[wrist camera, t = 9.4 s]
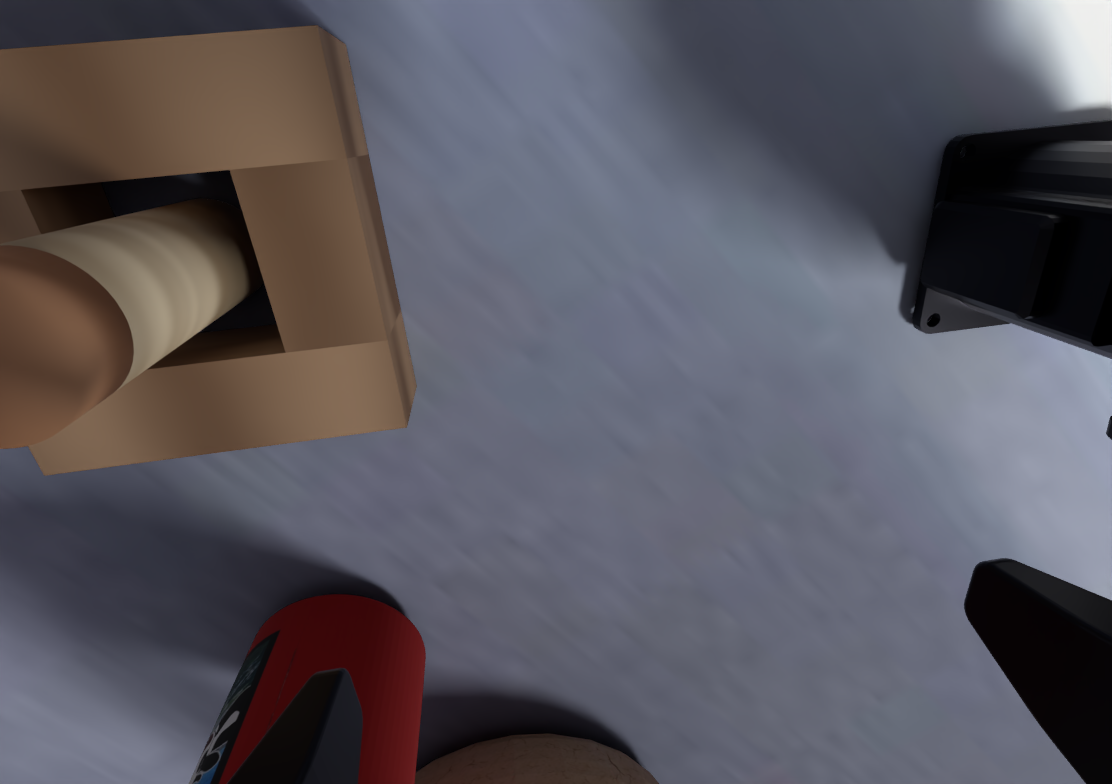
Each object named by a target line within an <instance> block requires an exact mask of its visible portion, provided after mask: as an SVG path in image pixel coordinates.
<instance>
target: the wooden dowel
mask: <svg viewBox="0 0 1112 784" xmlns="http://www.w3.org/2000/svg"><path fill="white" fill-rule="evenodd" d="M263 283H264V280H263V277H262V274H261V271H260V267H259V264H258V261H257V258H256V254H255V251H254V248H253V245H252V241H251V238H250V235H249V232H248V228H247V225H246V222H245V219H244V215H243V212H242V211H241V210H240V209H238V208H236V207H235V206H233V205H230V204H228V203H226V202H223V201H220V200H215V199H208V198H197V199H191V200H187V201H183V202H178V203H174V204H170V205H166V206H161V207H157V208H153V209H148V210H144V211H140V212H135V213H131V214H127V215H123V216H118V217H114V218H110V219H105V220H101V221H97V222H92V223H88V224H84V225H80V226H75V227H71V228H67V229H62V230H58V231H54V232H49V233H45V234H41V235H37V236H32V237H28V238H24V239H19V240H15V241H11V242H6V243H2V244H0V449H8V448H19V447H25V446H30V445H33V444H36V443H39V442H42V441H44V440H46V439H48V438H50V437H52V436H54V435H55V434H57V433H58V432H60V431H61V430H63V429H64V428H65V427H67V426H68V425H70V424H71V423H72V422H74V421H75V420H77V419H78V418H79V417H81V416H82V415H83V414H85V413H86V412H88V411H89V410H90V409H92V408H93V407H95V406H96V405H97V404H99V403H100V402H102V401H103V400H104V399H106V398H107V397H109V396H110V395H111V394H113V393H114V392H116V391H117V390H118V389H120V388H121V387H123V386H124V385H125V384H127V383H128V382H130V381H131V380H132V379H134V378H135V377H137V376H138V375H139V374H141V373H142V372H144V371H145V370H146V369H148V368H149V367H151V366H152V365H153V364H155V363H156V362H158V361H159V360H160V359H162V358H163V357H165V356H166V355H167V354H169V353H170V352H172V351H173V350H174V349H176V348H177V347H179V346H180V345H181V344H183V343H184V342H186V341H187V340H188V339H190V338H191V337H193V336H194V335H195V334H197V333H198V332H200V331H201V330H202V329H204V328H205V327H207V326H208V325H209V324H211V323H212V322H214V321H215V320H216V319H218V318H219V317H221V316H222V315H223V314H225V313H226V312H228V311H229V310H230V309H232V308H233V307H235V306H236V305H237V304H239V303H240V302H242V301H243V300H244V299H246V298H247V297H249V296H250V295H251V294H253V293H254V292H256V291H257V290H258V289H259V288H260V287H261V285H262V284H263Z"/></svg>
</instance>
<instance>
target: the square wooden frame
mask: <svg viewBox="0 0 1112 784" xmlns="http://www.w3.org/2000/svg"><path fill="white" fill-rule="evenodd" d="M222 170H230V173H231V176H232V179H233V183H234V186H235V189H236V192H237V196H238V199H239V202H240V205H241V209H242V212H243V215H244V219H245V222H246V225H247V228H248V232H249V235H250V238H251V241H252V245H253V248H254V251H255V254H256V258H257V261H258V264H259V267H260V271H261V274H262V277H263V280H264V284H265V287H266V290H267V293H268V297H269V300H270V303H271V307H272V310H273V313H274V316H275V320H276V323H277V324H273V325H264V326H256V327H247V328H239V329H230V330H222V331H213V332H205V333H197V334H195V335H194V336H193V337H191V338H190V339H188V340H187V341H186V342H184V343H183V344H181V345H180V346H179V347H177V348H176V349H174V350H173V351H172V352H170V353H169V354H167V355H166V356H165V357H163V358H162V359H160V360H159V361H158V362H156V363H155V364H153V365H152V366H151V367H149V368H148V369H146V370H145V371H144V372H142V373H141V374H139V375H138V376H137V377H135V378H134V379H132V380H131V381H130V382H128V383H127V384H125V385H124V386H123V387H121V388H120V389H118V390H117V391H116V392H114V393H113V394H111V395H110V396H109V397H107V398H106V399H104V400H103V401H102V402H100V403H99V404H97V405H96V406H95V407H93V408H92V409H90V410H89V411H88V412H86V413H85V414H83V415H82V416H81V417H79V418H78V419H77V420H75V421H74V422H72V423H71V424H70V425H68V426H67V427H65V428H64V429H63V430H61V431H60V432H58V433H57V434H55V435H54V436H52V437H50V438H48V439H46V440H44V441H42V442H39V443H36V444H33V445H30V446H28V447H29V449H30V451H31V453H32V454H33V456H34V458H35V460H36V462H37V463H38V465H39V467H40V469H41V471H42V472H43V474H44V476H46V475H53V474H61V473H68V472H76V471H83V470H91V469H98V468H106V467H113V466H121V465H128V464H136V463H143V462H151V461H158V460H166V459H173V458H181V457H188V456H196V455H203V454H211V453H218V452H226V451H233V450H241V449H248V448H256V447H263V446H271V445H278V444H286V443H293V442H301V441H308V440H316V439H323V438H331V437H338V436H346V435H353V434H361V433H368V432H376V431H383V430H391V429H398V428H406V427H407V425H408V421H409V416H410V412H411V408H412V404H413V399H414V395H415V391H416V387H417V385H416V381H415V376H414V371H413V366H412V361H411V356H410V352H409V347H408V342H407V337H406V332H405V328H404V323H403V318H402V313H401V308H400V303H399V299H398V294H397V289H396V284H395V279H394V275H393V270H392V265H391V260H390V255H389V250H388V246H387V241H386V236H385V231H384V226H383V222H382V217H381V212H380V207H379V202H378V197H377V193H376V188H375V183H374V178H373V173H372V169H371V164H370V159H369V154H368V149H367V145H366V140H365V135H364V130H363V125H362V120H361V116H360V111H359V106H358V101H357V96H356V92H355V87H354V82H353V77H352V72H351V67H350V63H349V58H348V53H347V48H346V44H344V43H343V42H341V41H340V40H338V39H337V38H335V37H334V36H332V35H331V34H329V33H328V32H326V31H325V30H323V29H322V28H321V27H319V26H318V25H313V26H300V27H287V28H274V29H261V30H248V31H235V32H222V33H209V34H196V35H183V36H170V37H157V38H144V39H131V40H118V41H105V42H92V43H79V44H66V45H53V46H40V47H27V48H14V49H1V50H0V244H2V243H6V242H11V241H15V240H19V239H24V238H28V237H32V236H37V235H41V234H45V233H49V232H54V231H58V230H62V229H67V228H71V227H75V226H80V225H84V224H88V223H92V222H97V221H101V220H105V219H110V218H114V215H113V212H112V210H111V207H110V205H109V202H108V200H107V197H106V195H105V192H104V190H103V187H102V185H101V182H107V181H117V180H128V179H138V178H149V177H159V176H170V175H180V174H191V173H201V172H212V171H222Z"/></svg>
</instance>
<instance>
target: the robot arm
mask: <svg viewBox="0 0 1112 784" xmlns="http://www.w3.org/2000/svg"><path fill="white" fill-rule="evenodd" d="M964 146H966V152H965V155H964V156H963V157H962V158H961V151H962V148H963V147H964ZM931 315H932V318H931V320H930V321H929V322H928V323H927V320H928V317H930V316H931ZM1010 323H1012V324H1015V325H1018V326H1020V327H1023V328H1026V329H1029V330H1032V331H1034V332H1037V333H1040V334H1043V335H1046V336H1049V337H1051V338H1054V339H1057V340H1060V341H1063V342H1065V343H1068V344H1071V345H1074V346H1077V347H1079V348H1082V349H1085V350H1088V351H1091V352H1094V353H1096V354H1099V355H1102V356H1105V357H1108V358H1110V359H1112V120H1104V121H1094V122H1084V123H1074V124H1064V125H1054V126H1044V127H1034V128H1024V129H1014V130H1004V131H994V132H984V133H974V134H964V135H959V136H956V137H955V138H953V139H952V140H951V141H950V142H949V144H948V145H947V146H946V149H945V151H944V155H943V160H942V166H941V171H940V176H939V181H938V187H937V192H936V197H935V203H934V208H933V213H932V218H931V224H930V229H929V234H928V240H927V245H926V250H925V255H924V261H923V266H922V271H921V277H920V282H919V287H918V293H917V298H916V303H915V308H914V314H913V325H914V327H915V328H916V329H918V330H920V331H922V332H924V333H928V334H932V333H940V332H948V331H956V330H963V329H971V328H979V327H986V326H994V325H1002V324H1010ZM1106 434H1107V436H1108V437H1109V438H1110V439H1112V416H1111V417H1110V420H1109V424H1108V428H1107V432H1106ZM964 609H965V613H966V616H967V618H968V620H969V622H970V623H971V625H972V626H973V628H974V629H975V631H976V632H977V634H978V635H979V637H980V638H981V640H982V641H983V643H984V644H985V646H986V647H987V648H988V650H989V651H990V653H991V654H992V656H993V657H994V659H995V660H996V662H997V663H998V665H999V666H1000V668H1001V669H1002V671H1003V672H1004V674H1005V675H1006V677H1007V678H1008V680H1009V681H1010V683H1011V684H1012V686H1013V687H1014V688H1015V690H1016V691H1017V693H1018V694H1019V696H1020V697H1021V699H1022V700H1023V702H1024V703H1025V705H1026V706H1027V708H1028V709H1029V711H1030V712H1031V713H1032V715H1033V716H1034V718H1035V719H1036V720H1037V722H1038V723H1039V725H1040V726H1041V727H1042V729H1043V730H1044V731H1045V732H1046V734H1047V735H1048V736H1049V738H1050V739H1051V740H1052V742H1053V743H1054V744H1055V745H1056V747H1057V748H1058V749H1059V750H1060V752H1061V753H1062V754H1063V755H1064V757H1065V758H1066V759H1067V760H1068V762H1069V763H1070V764H1071V765H1072V767H1073V768H1074V769H1075V770H1076V772H1077V773H1078V774H1079V775H1080V777H1081V778H1082V779H1083V780H1084V782H1085V783H1086V784H1112V600H1109V599H1107V598H1104V597H1102V596H1099V595H1097V594H1095V593H1092V592H1090V591H1087V590H1085V589H1083V588H1080V587H1078V586H1075V585H1073V584H1071V583H1068V582H1066V581H1063V580H1061V579H1059V578H1056V577H1054V576H1051V575H1049V574H1046V573H1044V572H1042V571H1039V570H1037V569H1034V568H1032V567H1030V566H1027V565H1025V564H1022V563H1020V562H1018V561H1015V560H1012V559H1008V558H1001V559H995V560H989V561H983V562H980V563H978V564H977V565H976V566H975V568H974V571H973V574H972V577H971V581H970V584H969V588H968V591H967V594H966V598H965V602H964ZM362 728H363V716H362V709H361V705H360V702H359V699H358V697H357V694H356V691H355V688H354V685H353V682H352V679H351V676H350V674H349V672H348V671H347V670H346V669H345V668H337V669H331V670H325V671H319V672H316V673H315V674H313V675H312V676H311V677H310V678H309V679H308V680H307V682H306V683H305V684H304V686H303V687H302V688H301V689H300V691H299V692H298V693H297V694H296V696H295V697H294V698H293V700H292V701H291V702H290V703H289V705H288V706H287V707H286V708H285V710H284V711H283V712H282V714H281V715H280V716H279V717H278V719H277V720H276V721H275V722H274V724H273V725H272V726H271V728H270V729H269V730H268V731H267V733H266V734H265V735H264V737H263V738H262V739H261V740H260V742H259V743H258V744H257V745H256V747H255V748H254V749H253V751H252V752H251V753H250V754H249V756H248V757H247V758H246V759H245V761H244V762H243V763H242V765H241V766H240V767H239V768H238V770H237V771H236V772H235V773H234V775H233V776H232V777H231V779H230V780H229V781H228V782H227V784H358V776H359V764H360V752H361V740H362Z"/></svg>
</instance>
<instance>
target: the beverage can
mask: <svg viewBox="0 0 1112 784" xmlns="http://www.w3.org/2000/svg"><path fill="white" fill-rule="evenodd" d="M425 659H426V653H425V647H424V643H423V640H422V637H421V635H420V633H419V631H418V630H417V628H416V627H415V626H414V625H413V623H412V622H411V621H410V620H409V619H408V618H407V617H405V616H404V615H403V614H402V613H400V612H399V611H397V610H396V609H394V608H392V607H391V606H389V605H387V604H385V603H382V602H380V601H377V600H374V599H371V598H367V597H362V596H356V595H348V594H330V595H321V596H315V597H311V598H307V599H303V600H300V601H298V602H295V603H293V604H290V605H288V606H286V607H284V608H283V609H281V610H279V611H278V612H277V613H275V614H274V615H273V616H271V617H270V618H269V619H268V620H267V621H266V622H265V623H264V624H263V626H262V627H261V628H260V630H259V631H258V633H257V635H256V637H255V639H254V641H253V643H252V645H251V647H250V650H249V652H248V654H247V656H246V658H245V660H244V663H243V665H242V667H241V669H240V671H239V673H238V676H237V678H236V680H235V682H234V684H233V686H232V689H231V691H230V693H229V695H228V697H227V700H226V702H225V704H224V706H223V708H222V711H221V713H220V715H219V717H218V720H217V722H216V724H215V726H214V728H213V731H212V733H211V735H210V737H209V740H208V742H207V744H206V746H205V749H204V751H203V753H202V755H201V757H200V760H199V762H198V764H197V766H196V769H195V771H194V773H193V775H192V778H191V780H190V782H189V784H227V782H228V781H229V780H230V779H231V777H232V776H233V775H234V773H235V772H236V771H237V770H238V768H239V767H240V766H241V765H242V763H243V762H244V761H245V759H246V758H247V757H248V756H249V754H250V753H251V752H252V751H253V749H254V748H255V747H256V745H257V744H258V743H259V742H260V740H261V739H262V738H263V737H264V735H265V734H266V733H267V731H268V730H269V729H270V728H271V726H272V725H273V724H274V722H275V721H276V720H277V719H278V717H279V716H280V715H281V714H282V712H283V711H284V710H285V708H286V707H287V706H288V705H289V703H290V702H291V701H292V700H293V698H294V697H295V696H296V694H297V693H298V692H299V691H300V689H301V688H302V687H303V686H304V684H305V683H306V682H307V680H308V679H309V678H310V677H311V676H312V675H313V674H315V673H316V672H319V671H325V670H331V669H337V668H345V669H346V670H347V671H348V672H349V674H350V676H351V679H352V682H353V685H354V688H355V691H356V694H357V697H358V699H359V702H360V705H361V709H362V716H363V728H362V740H361V752H360V764H359V776H358V784H415V773H416V762H417V751H418V741H419V730H420V719H421V708H422V695H423V683H424V671H425Z"/></svg>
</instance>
